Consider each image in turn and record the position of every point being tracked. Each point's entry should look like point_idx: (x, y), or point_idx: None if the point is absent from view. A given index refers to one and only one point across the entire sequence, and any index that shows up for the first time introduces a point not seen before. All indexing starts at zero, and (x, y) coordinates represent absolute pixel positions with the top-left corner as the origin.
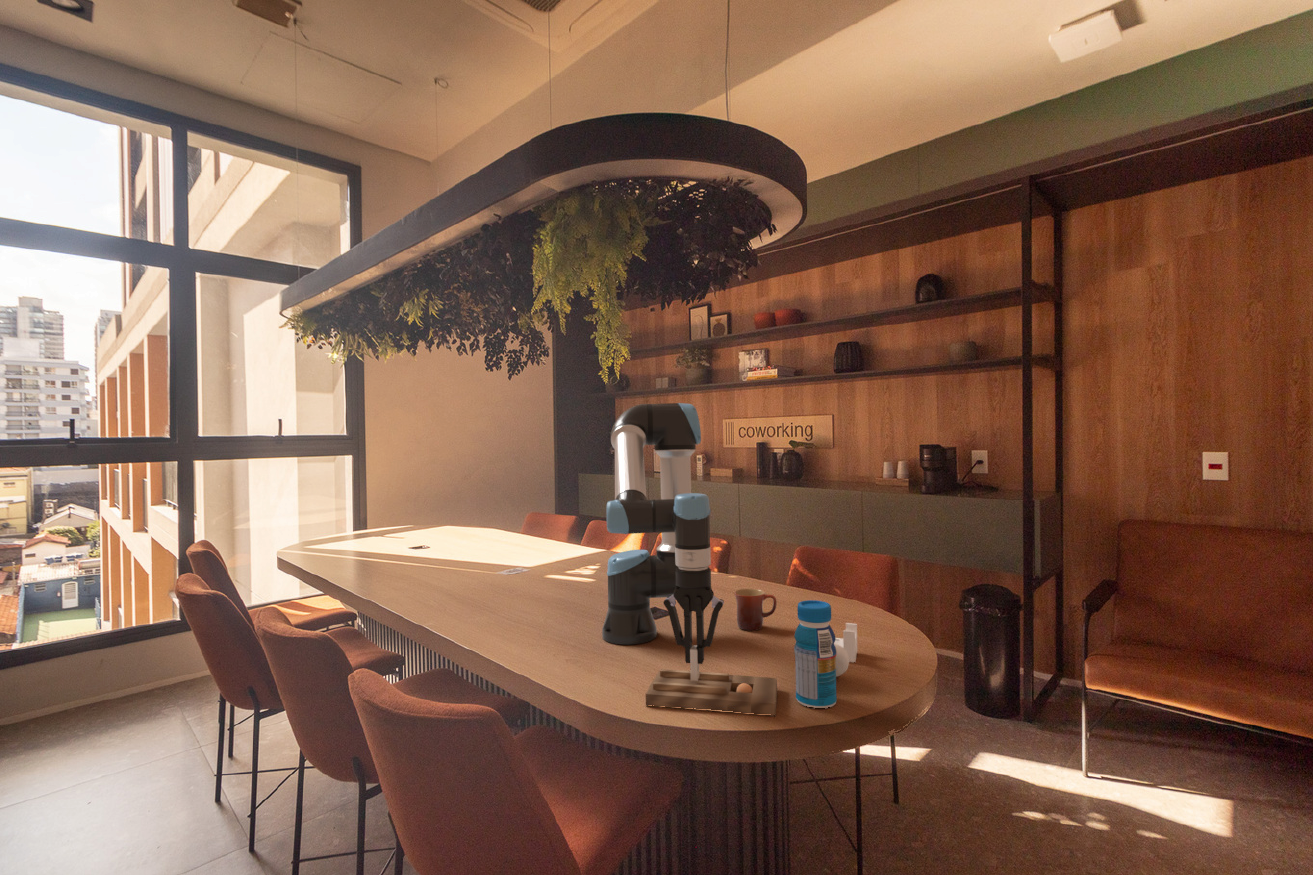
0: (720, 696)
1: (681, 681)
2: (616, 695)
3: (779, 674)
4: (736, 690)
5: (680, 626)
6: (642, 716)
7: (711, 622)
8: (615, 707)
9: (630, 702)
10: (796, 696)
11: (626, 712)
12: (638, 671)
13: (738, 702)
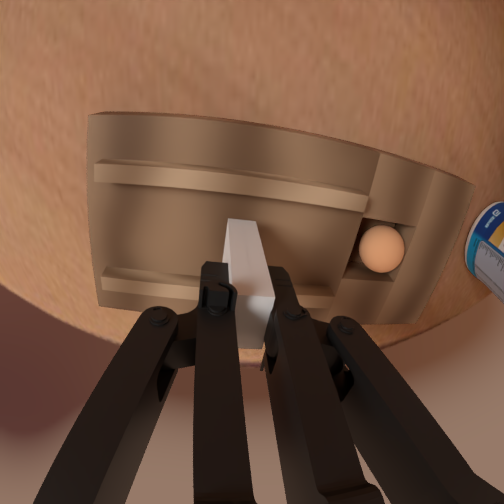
0: (310, 308)
1: (185, 213)
2: (24, 231)
3: (479, 80)
4: (363, 251)
5: (145, 390)
6: (119, 328)
7: (377, 467)
8: (49, 292)
9: (67, 267)
10: (470, 247)
11: (80, 313)
12: (36, 48)
13: None
